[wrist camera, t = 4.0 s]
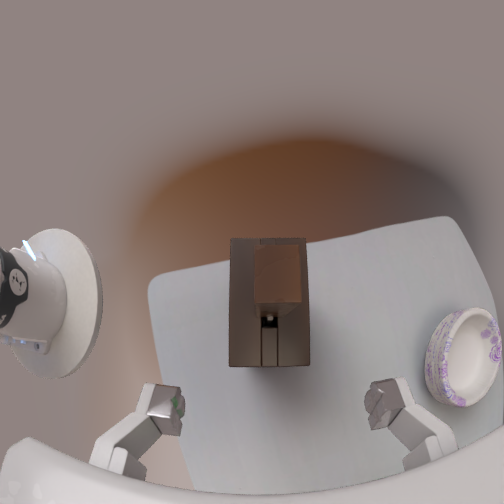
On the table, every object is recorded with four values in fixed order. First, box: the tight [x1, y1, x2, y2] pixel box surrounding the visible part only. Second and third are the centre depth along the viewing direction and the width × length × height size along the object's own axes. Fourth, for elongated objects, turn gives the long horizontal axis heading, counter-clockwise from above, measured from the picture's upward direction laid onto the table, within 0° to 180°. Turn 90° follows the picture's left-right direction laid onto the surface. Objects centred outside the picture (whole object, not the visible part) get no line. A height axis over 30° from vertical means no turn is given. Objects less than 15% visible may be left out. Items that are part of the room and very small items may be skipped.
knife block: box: [229, 238, 310, 367], centre depth 29 cm, size 6×10×18 cm, turn 0°
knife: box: [254, 245, 302, 325], centre depth 20 cm, size 2×3×17 cm, turn 0°
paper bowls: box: [425, 308, 502, 407], centre depth 30 cm, size 15×15×8 cm
